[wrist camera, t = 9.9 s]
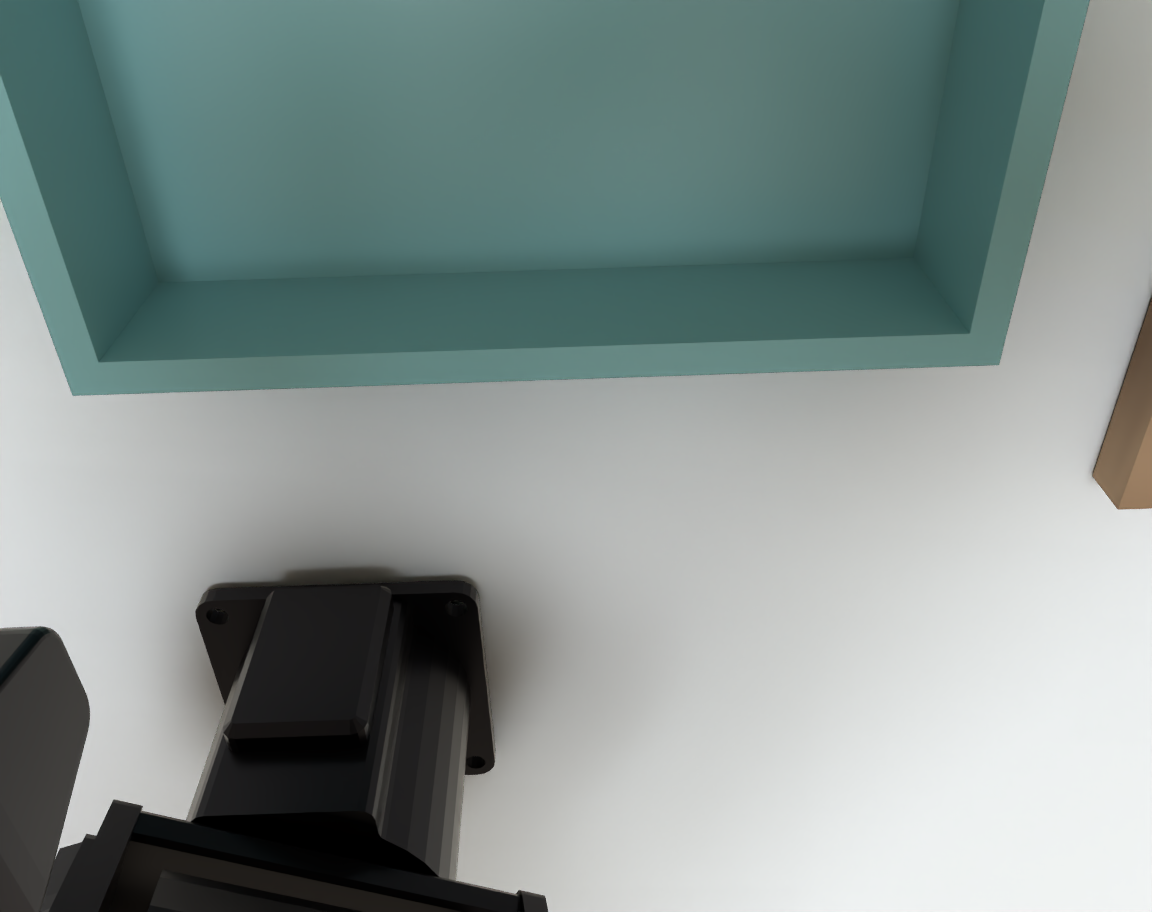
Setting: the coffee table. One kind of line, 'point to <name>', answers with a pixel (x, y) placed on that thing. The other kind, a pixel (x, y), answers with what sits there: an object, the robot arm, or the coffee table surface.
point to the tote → (523, 185)
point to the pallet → (1131, 433)
